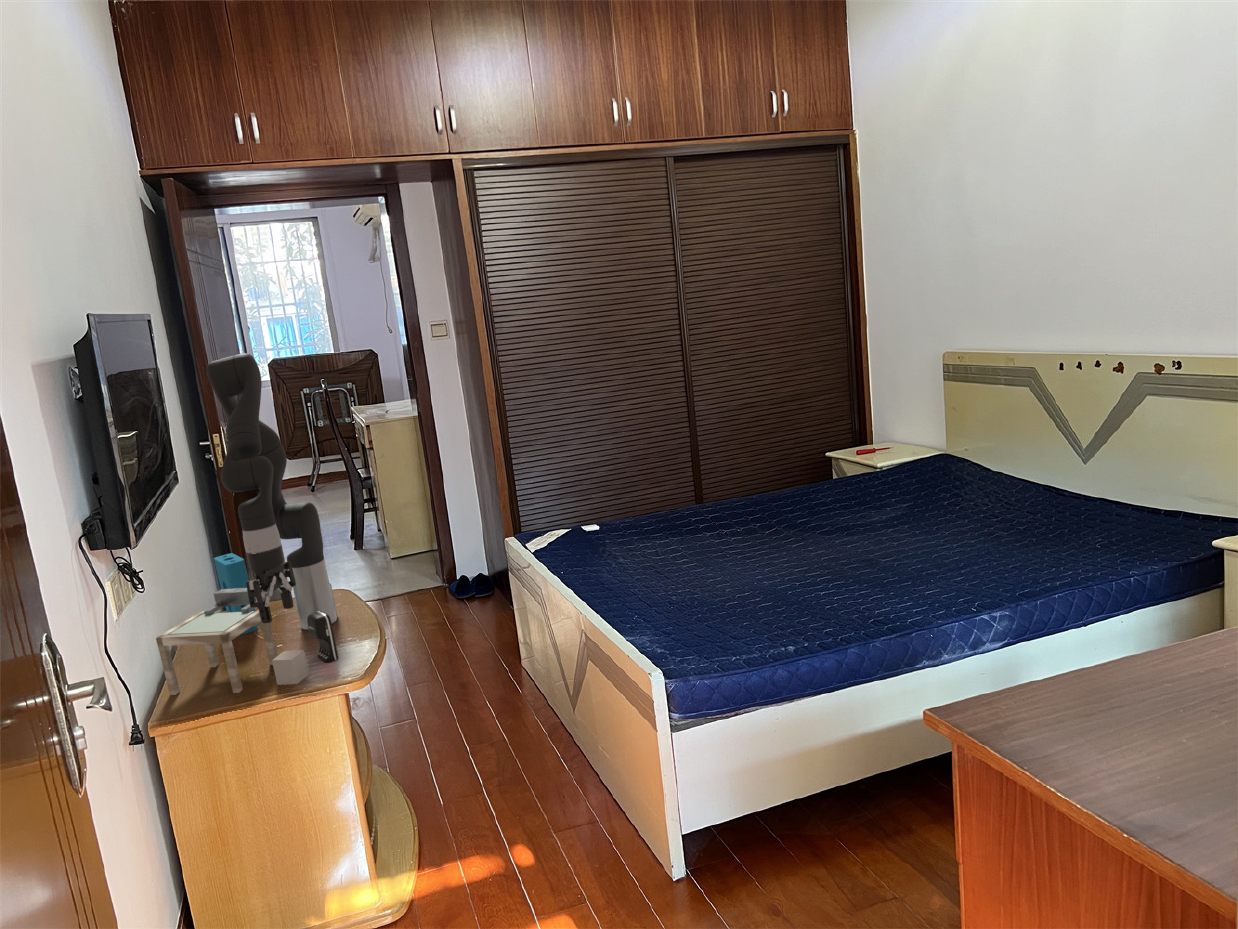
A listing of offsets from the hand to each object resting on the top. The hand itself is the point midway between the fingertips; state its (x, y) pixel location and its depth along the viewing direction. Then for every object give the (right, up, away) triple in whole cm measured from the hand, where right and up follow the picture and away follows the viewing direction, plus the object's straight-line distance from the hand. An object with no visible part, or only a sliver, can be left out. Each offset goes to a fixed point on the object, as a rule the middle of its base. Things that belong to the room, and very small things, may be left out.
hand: (278, 615), depth 203 cm
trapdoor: (-17, -3, +10) cm, 20 cm away
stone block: (+2, -15, +3) cm, 16 cm away
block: (-25, -11, +43) cm, 51 cm away
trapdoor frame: (-16, -16, +9) cm, 25 cm away
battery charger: (+7, -13, +13) cm, 19 cm away
